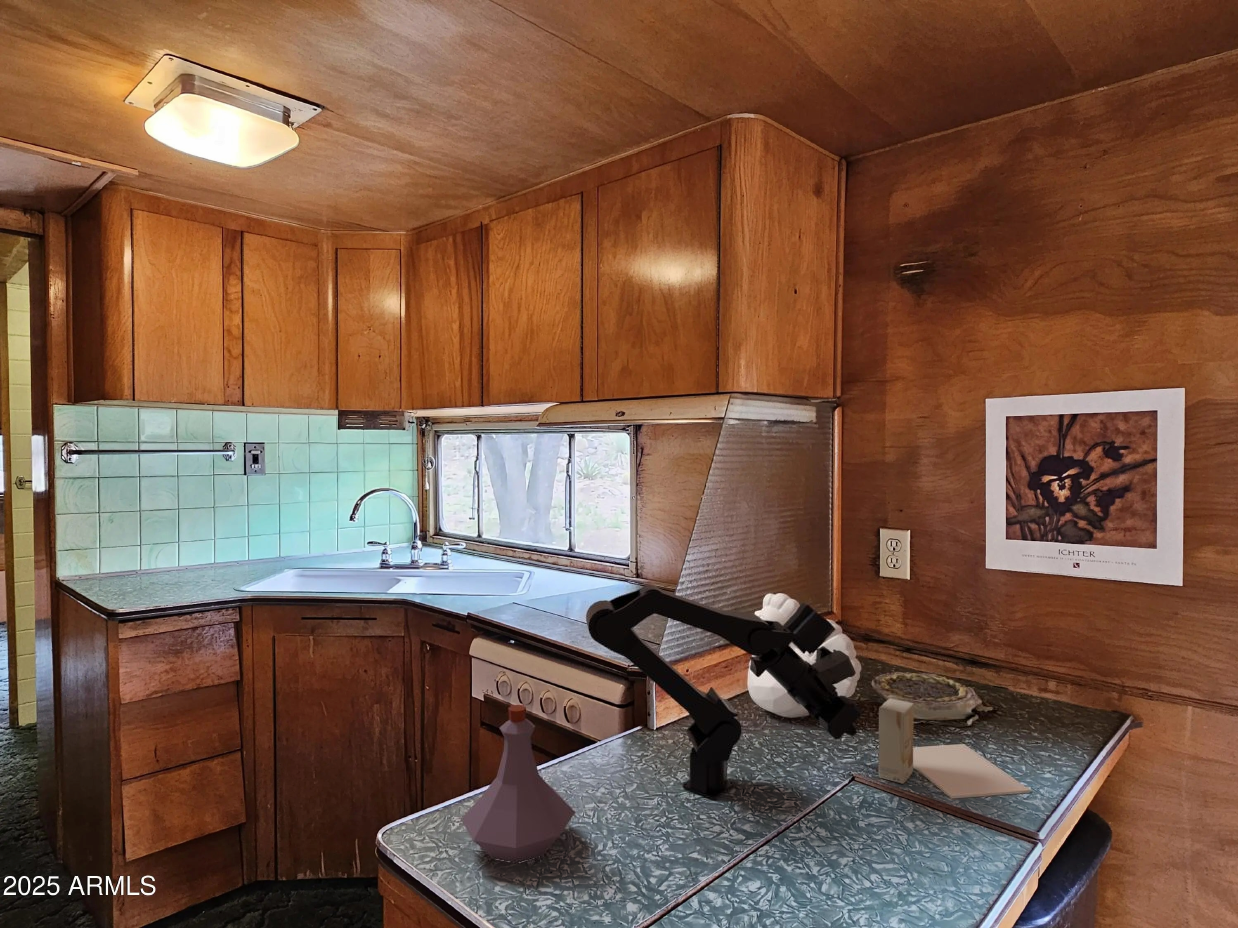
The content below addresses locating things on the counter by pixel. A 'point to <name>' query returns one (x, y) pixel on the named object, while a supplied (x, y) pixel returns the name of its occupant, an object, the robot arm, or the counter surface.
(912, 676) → the pie
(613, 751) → the counter surface
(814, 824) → the counter surface
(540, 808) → the flask
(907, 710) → the skincare box
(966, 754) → the cutting board
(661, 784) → the counter surface
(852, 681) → the decorative rooster
